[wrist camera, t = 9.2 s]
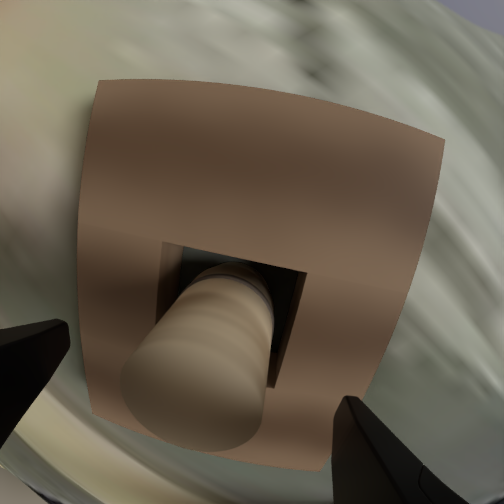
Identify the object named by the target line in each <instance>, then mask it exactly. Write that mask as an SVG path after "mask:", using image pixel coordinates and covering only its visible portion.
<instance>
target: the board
mask: <svg viewBox="0 0 504 504" xmlns="http://www.w3.org/2000/svg"><path fill="white" fill-rule="evenodd" d="M444 144H445V139H442V138H440V137H437V136H435V135H432V134H430V133H427V132H425V131H422V130H419V129H417V128H414V127H411V126H408V125H406V124H403V123H400V122H397V121H394V120H391V119H388V118H385V117H382V116H378V115H375V114H372V113H369V112H365V111H362V110H358V109H355V108H351V107H347V106H343V105H340V104H336V103H332V102H328V101H323V100H319V99H315V98H310V97H305V96H300V95H295V94H290V93H285V92H279V91H274V90H268V89H261V88H255V87H247V86H240V85H232V84H222V83H212V82H200V81H186V80H162V79H121V80H99V82H98V86H97V90H96V94H95V99H94V103H93V108H92V113H91V118H90V123H89V129H88V134H87V140H86V147H85V154H84V161H83V169H82V177H81V187H80V198H79V212H78V231H77V291H78V310H79V324H80V335H81V344H82V353H83V361H84V368H85V374H86V381H87V387H88V392H89V398H90V403H91V408H92V413H93V414H95V415H97V416H99V417H101V418H104V419H106V420H108V421H111V422H113V423H115V424H118V425H120V426H123V427H125V428H128V429H130V430H133V431H136V432H138V433H141V434H144V435H147V436H150V437H152V438H155V439H158V440H161V441H164V442H167V441H165V440H163V439H161V438H159V437H158V436H156V435H154V434H153V433H152V432H150V431H149V430H148V429H146V428H145V427H144V426H143V425H142V424H141V423H140V422H139V421H138V420H137V419H136V418H135V417H134V416H133V414H132V413H131V412H130V410H129V409H128V407H127V405H126V404H125V401H124V399H123V397H122V394H121V390H120V373H121V370H122V367H123V365H124V364H125V362H126V361H127V359H128V358H129V357H130V356H131V354H132V353H133V352H134V351H135V350H136V348H137V347H138V346H139V345H140V343H141V342H142V341H143V340H144V339H145V337H146V336H147V335H148V334H149V333H150V331H151V330H152V329H153V328H154V327H155V325H156V324H157V323H158V322H159V321H160V319H161V318H162V317H163V316H164V315H165V313H166V312H167V311H168V310H169V309H170V307H171V306H172V305H173V304H174V303H175V301H176V300H177V298H178V290H179V280H180V272H181V263H182V255H183V248H184V246H186V247H191V248H195V249H200V250H204V251H209V252H213V253H218V254H223V255H227V256H232V257H237V258H241V259H246V260H250V261H255V262H260V263H264V264H269V265H274V266H278V267H283V268H288V269H293V270H297V271H299V273H298V277H297V281H296V284H295V288H294V292H293V296H292V300H291V304H290V308H289V312H288V315H287V319H286V323H285V326H284V330H283V334H282V337H281V341H280V345H279V348H278V352H277V353H273V352H270V357H269V366H268V375H267V383H266V392H265V400H264V408H263V416H262V421H261V425H260V427H259V429H258V431H257V433H256V434H255V435H254V436H253V437H252V438H251V439H250V440H249V441H247V442H246V443H245V444H243V445H241V446H239V447H236V448H233V449H230V450H225V451H218V452H203V451H199V452H202V453H206V454H210V455H214V456H219V457H223V458H228V459H232V460H237V461H242V462H248V463H253V464H259V465H265V466H272V467H279V468H287V469H295V470H305V471H317V472H320V470H321V469H322V467H323V466H324V464H325V463H326V461H327V459H328V458H329V456H330V455H331V453H332V437H333V418H334V414H335V412H336V410H337V408H338V406H339V404H340V402H341V400H342V398H343V397H344V396H346V395H350V396H357V397H358V398H360V399H361V401H362V399H363V397H364V395H365V393H366V391H367V389H368V387H369V385H370V383H371V381H372V379H373V377H374V374H375V372H376V370H377V368H378V366H379V364H380V362H381V359H382V357H383V355H384V353H385V350H386V348H387V346H388V343H389V341H390V339H391V336H392V334H393V331H394V329H395V326H396V324H397V321H398V319H399V316H400V313H401V311H402V308H403V305H404V303H405V300H406V297H407V294H408V291H409V289H410V286H411V283H412V280H413V277H414V273H415V270H416V267H417V264H418V261H419V257H420V254H421V251H422V247H423V244H424V240H425V236H426V233H427V229H428V225H429V221H430V217H431V213H432V208H433V204H434V199H435V195H436V190H437V185H438V180H439V175H440V169H441V163H442V157H443V151H444ZM168 443H169V442H168Z"/></svg>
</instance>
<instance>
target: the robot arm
mask: <svg viewBox="0 0 504 504" xmlns="http://www.w3.org/2000/svg"><path fill="white" fill-rule="evenodd" d="M69 348H70V336H69V327H68V324H67V323H66V322H65V321H62V320H60V319H52V320H47V321H42V322H37V323H32V324H27V325H21V326H16V327H11V328H5V329H0V449H1V447H2V446H3V444H4V443H5V441H6V440H7V438H8V437H9V435H10V434H11V432H12V431H13V430H14V428H15V427H16V425H17V424H18V422H19V421H20V420H21V418H22V417H23V415H24V414H25V413H26V411H27V410H28V409H29V407H30V406H31V404H32V403H33V402H34V400H35V399H36V398H37V396H38V395H39V394H40V392H41V391H42V390H43V388H44V387H45V386H46V384H47V383H48V382H49V380H50V379H51V377H52V376H53V374H54V372H55V371H56V369H57V367H58V366H59V364H60V363H61V361H62V359H63V358H64V356H65V355H66V353H67V352H68V350H69ZM331 464H332V481H333V499H334V504H469V503H468V502H467V501H465V500H464V499H463V498H462V497H460V496H459V495H458V494H456V493H455V492H454V491H453V490H451V489H450V488H449V487H448V486H447V485H445V484H444V483H443V482H442V481H441V480H440V479H439V478H438V477H436V476H435V475H434V474H433V473H432V472H431V471H430V470H429V469H428V468H427V467H426V466H425V465H423V463H422V462H421V461H420V460H419V459H418V458H417V457H416V456H415V455H414V454H413V453H412V452H411V451H410V450H409V449H408V448H407V447H406V446H405V445H404V444H403V443H402V442H401V441H400V440H399V439H398V438H397V437H396V436H395V435H394V434H393V433H392V432H391V431H390V430H389V428H388V427H387V426H386V425H385V424H384V423H383V422H382V421H381V420H380V419H379V418H378V417H377V416H376V415H375V414H374V413H373V412H372V411H371V410H370V409H369V408H368V407H367V406H366V405H365V404H364V403H363V402H362V401H361V399H360V398H358V397H357V396H350V395H346V396H344V397H343V398H342V400H341V402H340V404H339V406H338V408H337V410H336V412H335V414H334V418H333V437H332V457H331Z"/></svg>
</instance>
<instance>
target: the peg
mask: <svg viewBox="0 0 504 504" xmlns="http://www.w3.org/2000/svg"><path fill="white" fill-rule="evenodd" d="M273 332H274V301H273V297H272V295H271V292H270V290H269V289H268V285H267V283H266V281H265V279H264V278H263V276H262V275H261V274H260V273H259V272H258V271H257V270H255V269H254V268H252V267H251V266H249V265H246V264H243V263H239V262H226V263H222V264H220V265H217V266H215V267H212V268H209V269H207V270H205V271H203V272H202V273H200V274H199V275H198V276H197V277H196V278H195V279H194V280H193V281H192V282H191V283H190V284H189V285H188V286H187V287H186V288H185V289H184V290H183V291H182V292H181V294H180V295H179V296H178V298H177V300H176V301H175V303H174V304H173V305H172V306H171V307H170V309H169V310H168V311H167V312H166V313H165V315H164V316H163V317H162V318H161V319H160V321H159V322H158V323H157V324H156V325H155V327H154V328H153V329H152V330H151V331H150V333H149V334H148V335H147V336H146V337H145V339H144V340H143V341H142V342H141V343H140V345H139V346H138V347H137V348H136V350H135V351H134V352H133V353H132V354H131V356H130V357H129V358H128V359H127V361H126V362H125V364H124V365H123V367H122V370H121V373H120V390H121V394H122V397H123V399H124V401H125V404H126V405H127V407H128V409H129V410H130V412H131V413H132V414H133V416H134V417H135V418H136V419H137V420H138V421H139V422H140V423H141V424H142V425H143V426H144V427H145V428H146V429H148V430H149V431H150V432H152V433H153V434H154V435H156V436H158V437H159V438H161V439H163V440H165V441H167V442H169V443H171V444H174V445H176V446H179V447H182V448H186V449H190V450H195V451H203V452H218V451H225V450H230V449H233V448H236V447H239V446H241V445H243V444H245V443H246V442H247V441H249V440H250V439H251V438H252V437H253V436H254V435H255V434H256V433H257V431H258V429H259V427H260V425H261V421H262V416H263V408H264V400H265V392H266V383H267V375H268V366H269V357H270V348H271V340H272V337H273Z"/></svg>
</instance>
